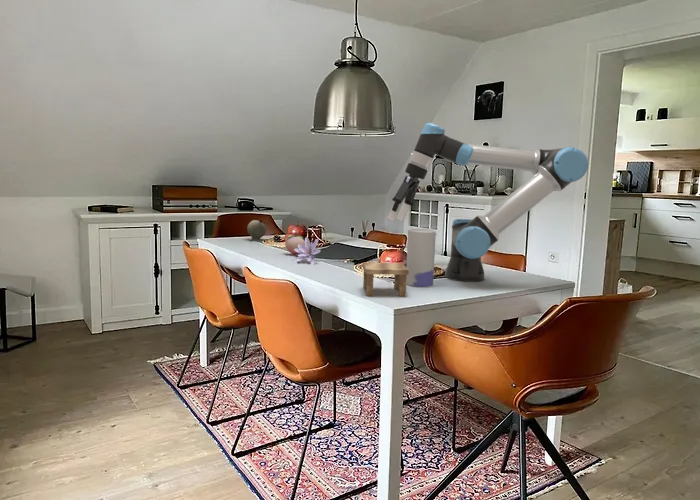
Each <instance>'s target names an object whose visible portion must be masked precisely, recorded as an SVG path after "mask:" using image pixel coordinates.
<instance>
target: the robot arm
mask: <svg viewBox="0 0 700 500" xmlns="http://www.w3.org/2000/svg"><path fill="white" fill-rule="evenodd" d="M445 132H446V130H445V128H444V127H441V126H439V125H437V124H436V123H432V122H427V123H425V125H424V126H423V128H422V130H421V133H420V135H419V137H418V140H417V142H416V145H415V147H414V149H413V152H411V153H410V159H409V162H408V163H407V166H406V169H405V171H404V172H405V173H406V174H409V175H405V176H404V179H403V181H402V183H401V184H400V186H399V188H398V190H397V192H396V193H395V195H394V196H393V197H392V201H393V203H392V205H391V208H390V209H389V213H388V215H387V219H388V220H391V221H393V222H395V220H396V219H397V220H399V221H401V222H404V220H405V219H406V217H407V213H408V212H409V210H410V208H411V207H412V206H414V200H415V196H416V193H417V192H418V191H417V190H418V187H419V184H420V180H419V179H421V180H424V179H425V178H426V176H427V173H428V172H429V171H428V170H429V169H430V167H431V164H432V162H433V160H434V158H435V156H438V157H441V158H443V159H444V161H445V162H447V163H455V164H456V165H460V166H463V167H465V166H467V165H475V166H482V167H489V168H499V169H507V170H515V171H516V170H517V171H522V172H523V171H524V172H530V173H531V174H532V175H533V176H531V177H530V178H529V179H528V180H527V181H525V182H524V183H522V184H521V186H519V187H517V188H516V190H514V191H512V193H511V194H509V195H508V196H507V197H505V198H504V199H503V200H502V201H501V202H500V203H498V204H497V205H496V206H494V207H492V209H491V210H490V211H488V212H487V213H486V214H484V215H476V216H475V217H474V218H472V219H469V218H467V219H466V218H456V219H454V220H453V221H452V225H451V231H452V232H451V244H450V245H451V246H450V247H451V248H450V259H449V260H448V263H447V266H446V268H445V273H444V274H445V275H444V277H445V278H446V279H449V280H452V281H453V280H454V281H460V282H480V281H481V282H482V281H484V280H485V270H484V267H483V263H482V257H483V256H485V255H486V254H487V253H488V251H489V249H490V248H491V247H492V246H493V245H494V244H495V243H497V242H498V241H499V239H500V235H501V233H503V232H504V231H505V230H506V229H508V228H509V227H510V226H511V225H513V224H514V223H516V221H518V220H519V219H520V218H521V217H522V216H524V215H525V214H526V213H528V212H529V211H530V210H531V209H532V208H534V207H536V206H538V204H539V203H541V201H543V200H544V199H545V198H547V197H548V196H549V195H550V194H553V192H561V191H563V190H564V189H565V188H566V187H567V186H569V185H570V184H571V183H574V182H577V181H579V180H580V179H582V178H583V177H585V175H586V174H587V171H588V167H589V159H588V157H587V155H586V153H584V151H583V150H581V149H579V148H576V147H575V146H574V147H572V146H566V147H563V148H562V147H561V148H560V147H559V148H554V149H540V148H538V149H536V150H534V151H533V150H526V149H525V150H524V149H517V148H507V147H498V146H489V145H481V144H473V143H465V142H462V141H460V140H457V139H455V138H452V137H449V136H447V135H446V134H445ZM403 201H404V202H403ZM402 202H403V203H402Z"/></svg>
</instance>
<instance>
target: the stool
mask: <svg viewBox="0 0 700 500" xmlns="http://www.w3.org/2000/svg"><path fill="white" fill-rule="evenodd" d="M361 264H362V269H363V282H362V283H363V287H362V288H363V290H366V291H365V292H366V293H365V294H366V295H365V296H366V297H373V296H374V275H394V281H393V282H394V286H393V288H394V290H396V291H398V296H399V297H406V296H407V284H406V280H407V275H409V270H408V269H407V268H406V265H405V264H403V262H362V263H361Z"/></svg>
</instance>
